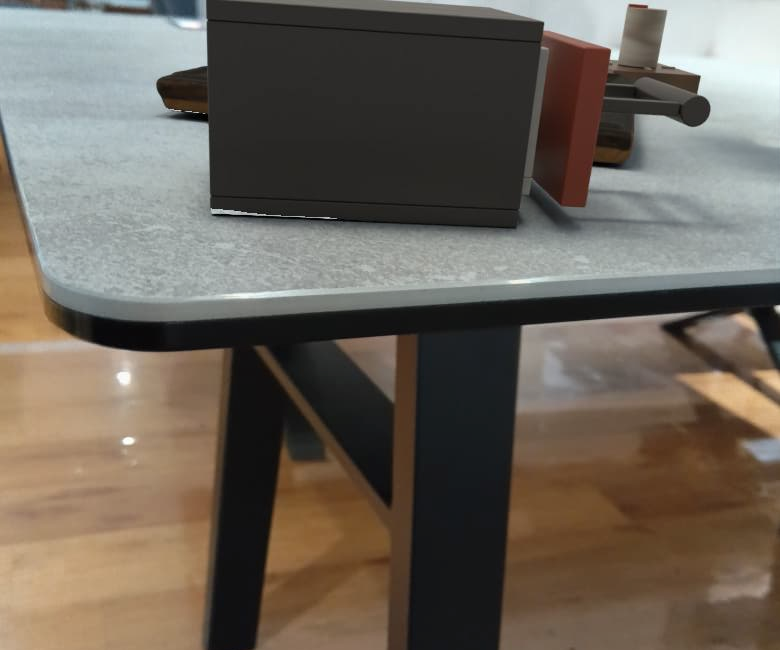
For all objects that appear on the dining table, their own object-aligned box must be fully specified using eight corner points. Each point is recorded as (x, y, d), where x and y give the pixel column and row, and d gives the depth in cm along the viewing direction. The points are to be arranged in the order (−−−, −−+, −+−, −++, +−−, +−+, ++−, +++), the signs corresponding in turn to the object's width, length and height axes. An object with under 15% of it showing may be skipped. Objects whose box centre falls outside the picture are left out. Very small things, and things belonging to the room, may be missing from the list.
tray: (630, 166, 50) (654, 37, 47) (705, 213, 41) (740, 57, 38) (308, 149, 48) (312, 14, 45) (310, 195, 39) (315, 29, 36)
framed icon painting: (696, 175, 53) (706, 126, 52) (135, 124, 56) (132, 77, 55) (623, 97, 88) (628, 66, 86) (276, 67, 90) (276, 37, 89)
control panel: (653, 86, 99) (657, 61, 98) (695, 101, 88) (701, 73, 87) (575, 81, 98) (579, 56, 97) (609, 96, 87) (613, 68, 86)
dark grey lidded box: (472, 172, 50) (490, 7, 46) (517, 228, 40) (545, 21, 36) (229, 160, 49) (227, -12, 45) (210, 214, 38) (205, -3, 34)
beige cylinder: (649, 64, 94) (660, 5, 92) (662, 68, 91) (673, 7, 88) (613, 62, 94) (622, 2, 91) (624, 66, 90) (634, 4, 88)
